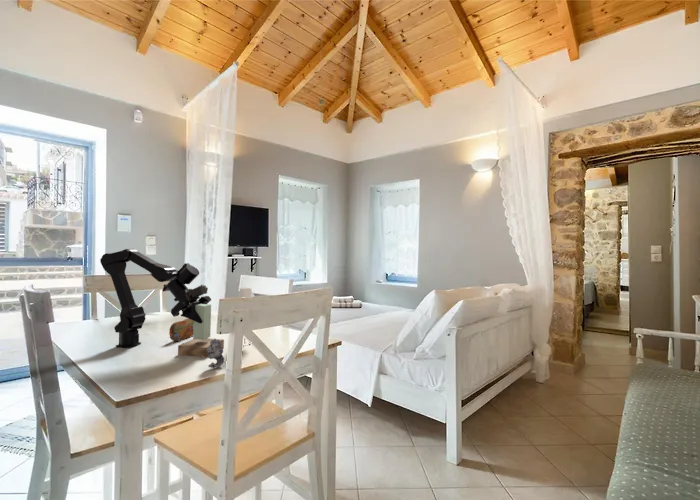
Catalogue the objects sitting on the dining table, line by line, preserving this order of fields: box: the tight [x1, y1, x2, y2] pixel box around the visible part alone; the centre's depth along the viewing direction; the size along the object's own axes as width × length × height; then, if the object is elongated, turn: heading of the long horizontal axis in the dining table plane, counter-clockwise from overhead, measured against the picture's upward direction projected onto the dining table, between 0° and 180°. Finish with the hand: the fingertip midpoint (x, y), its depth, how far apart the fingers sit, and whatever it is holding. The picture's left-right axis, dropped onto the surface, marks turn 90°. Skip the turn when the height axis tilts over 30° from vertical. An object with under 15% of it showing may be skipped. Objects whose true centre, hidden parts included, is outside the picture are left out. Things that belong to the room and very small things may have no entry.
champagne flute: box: [238, 287, 253, 344], centre depth 148 cm, size 7×7×24 cm
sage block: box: [192, 303, 212, 340], centre depth 136 cm, size 4×4×13 cm
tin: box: [168, 318, 194, 342], centre depth 154 cm, size 15×3×8 cm, turn 168°
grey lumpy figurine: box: [207, 338, 225, 369], centre depth 118 cm, size 5×5×10 cm
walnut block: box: [177, 337, 225, 358], centre depth 136 cm, size 12×12×4 cm
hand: (205, 321), depth 135 cm, fingers closed on sage block, 4 cm apart
